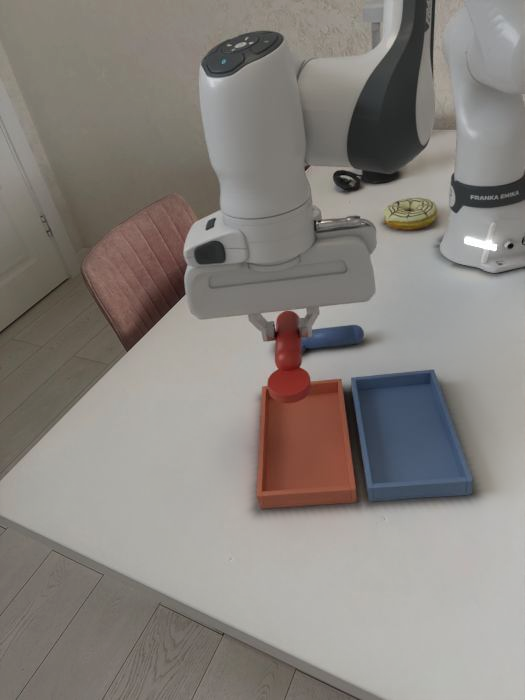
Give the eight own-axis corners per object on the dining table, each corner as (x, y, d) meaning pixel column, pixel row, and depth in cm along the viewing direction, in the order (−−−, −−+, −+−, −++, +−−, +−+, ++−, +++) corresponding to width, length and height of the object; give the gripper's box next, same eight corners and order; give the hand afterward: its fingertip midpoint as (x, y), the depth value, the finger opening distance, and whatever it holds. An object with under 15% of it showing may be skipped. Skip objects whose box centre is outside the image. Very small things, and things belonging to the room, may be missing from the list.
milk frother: (404, 171, 129) (404, 110, 120) (380, 195, 120) (379, 131, 110) (353, 168, 136) (350, 111, 127) (327, 192, 127) (322, 131, 118)
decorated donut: (387, 211, 113) (387, 195, 110) (437, 210, 109) (438, 193, 106) (380, 232, 105) (380, 216, 103) (434, 232, 101) (435, 215, 99)
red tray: (342, 391, 71) (341, 378, 69) (357, 502, 57) (356, 489, 55) (264, 398, 72) (262, 386, 71) (260, 508, 58) (256, 496, 57)
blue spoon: (362, 331, 80) (361, 316, 79) (366, 349, 77) (365, 334, 75) (278, 341, 82) (275, 326, 80) (277, 359, 79) (274, 344, 77)
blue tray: (433, 382, 69) (433, 369, 68) (471, 494, 55) (473, 480, 53) (351, 390, 71) (350, 377, 69) (368, 501, 56) (367, 488, 55)
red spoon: (271, 327, 63) (268, 307, 61) (308, 323, 62) (305, 303, 61) (268, 405, 52) (263, 384, 50) (312, 401, 52) (309, 380, 50)
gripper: (371, 200, 51) (374, 311, 59) (178, 226, 53) (207, 329, 62) (380, 227, 46) (382, 344, 54) (167, 254, 48) (200, 362, 57)
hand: (287, 336), depth 58 cm, fingers closed on red spoon, 3 cm apart
